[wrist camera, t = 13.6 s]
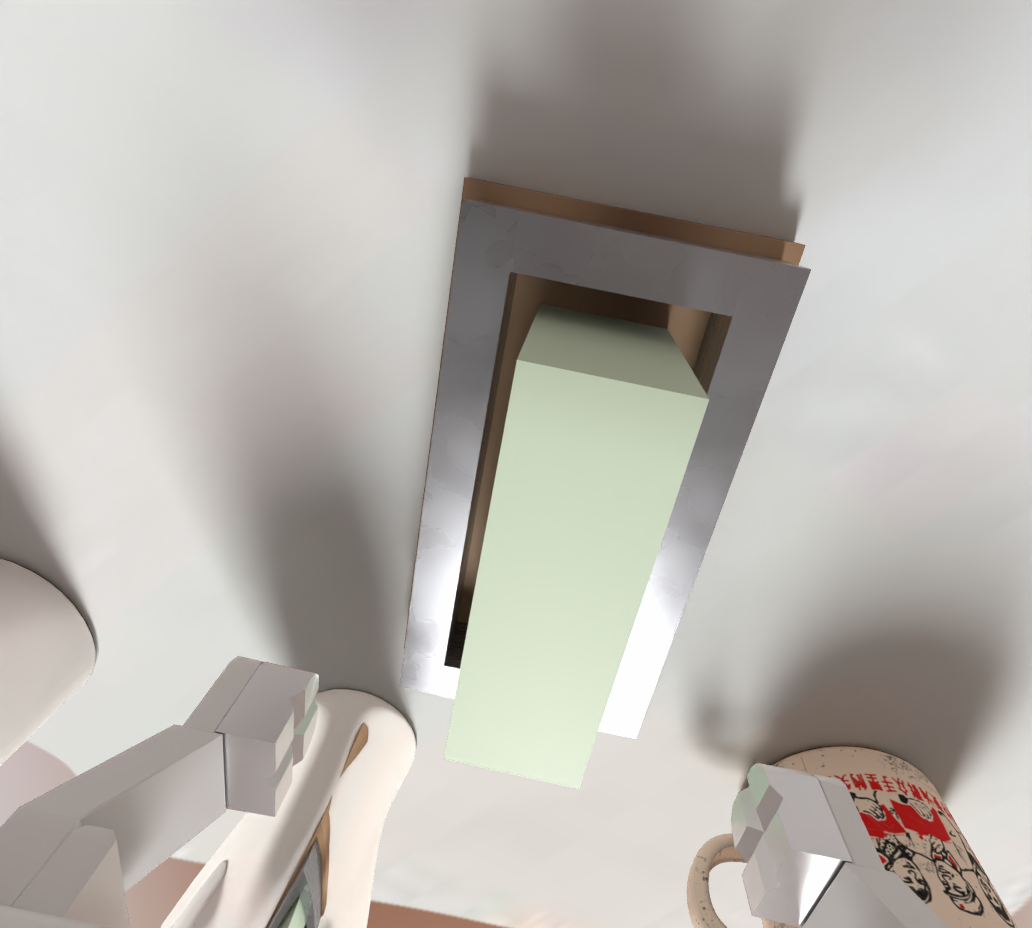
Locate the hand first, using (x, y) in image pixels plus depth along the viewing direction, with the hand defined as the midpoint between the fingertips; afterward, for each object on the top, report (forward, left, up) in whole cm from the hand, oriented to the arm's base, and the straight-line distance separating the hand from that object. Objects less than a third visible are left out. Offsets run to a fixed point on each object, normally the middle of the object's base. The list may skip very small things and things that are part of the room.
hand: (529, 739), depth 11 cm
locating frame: (0, 0, -12) cm, 12 cm away
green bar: (0, 0, -11) cm, 11 cm away
